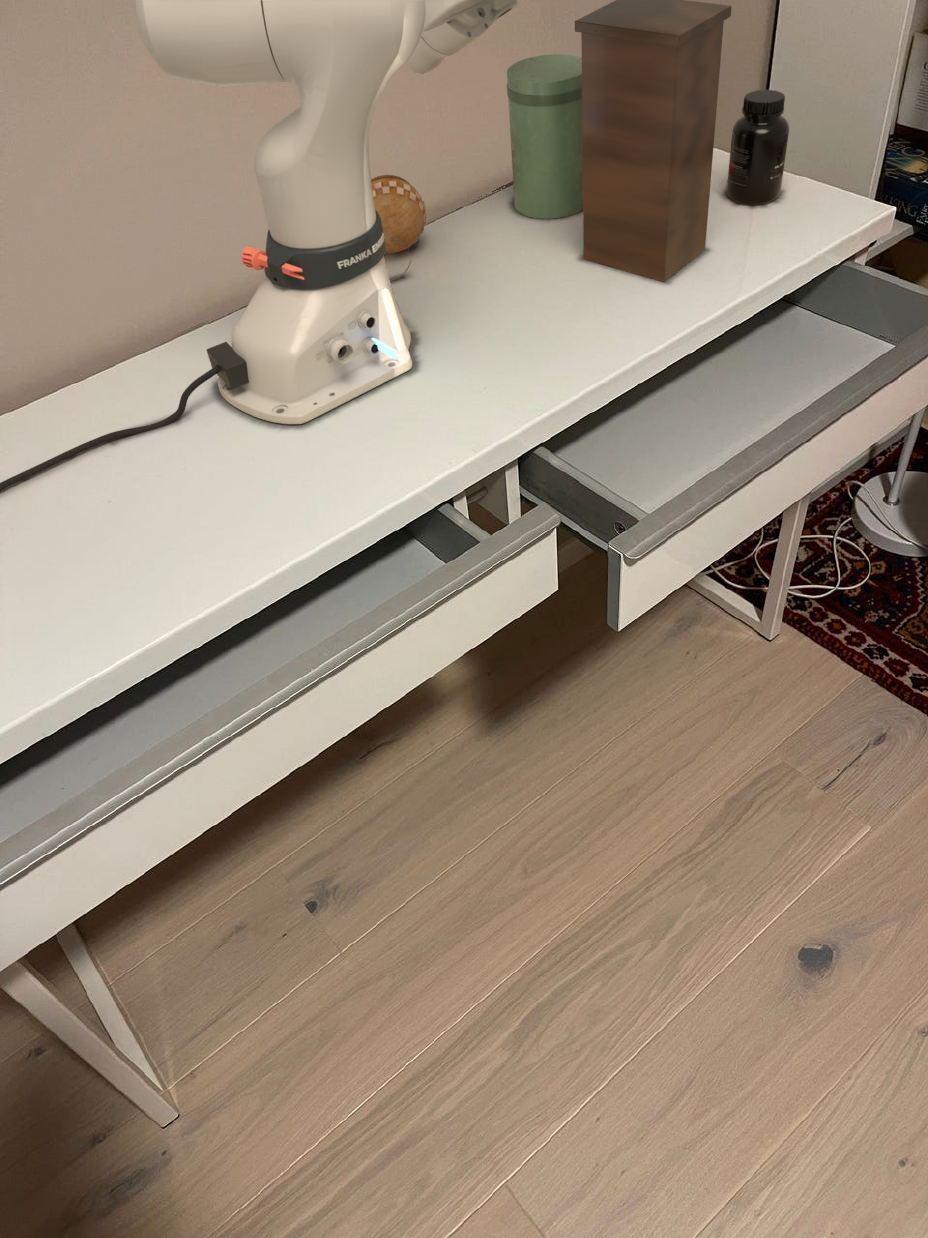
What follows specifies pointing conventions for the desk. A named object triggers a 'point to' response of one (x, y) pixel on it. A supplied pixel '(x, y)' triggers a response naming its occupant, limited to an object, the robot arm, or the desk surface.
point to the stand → (648, 131)
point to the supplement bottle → (758, 149)
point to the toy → (398, 212)
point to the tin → (546, 135)
